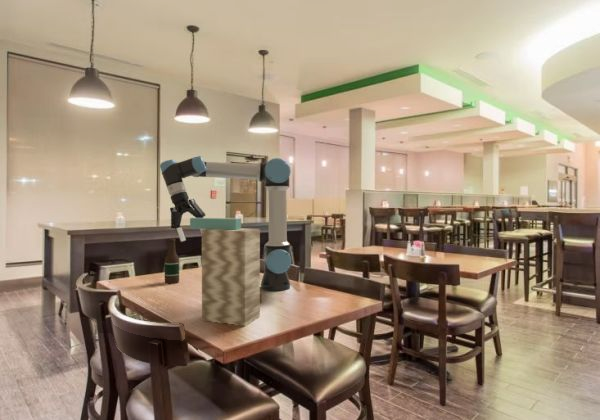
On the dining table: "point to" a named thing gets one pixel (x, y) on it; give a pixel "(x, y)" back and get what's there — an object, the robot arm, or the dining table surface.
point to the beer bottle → (171, 264)
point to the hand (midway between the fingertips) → (193, 237)
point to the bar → (215, 223)
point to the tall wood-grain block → (231, 276)
